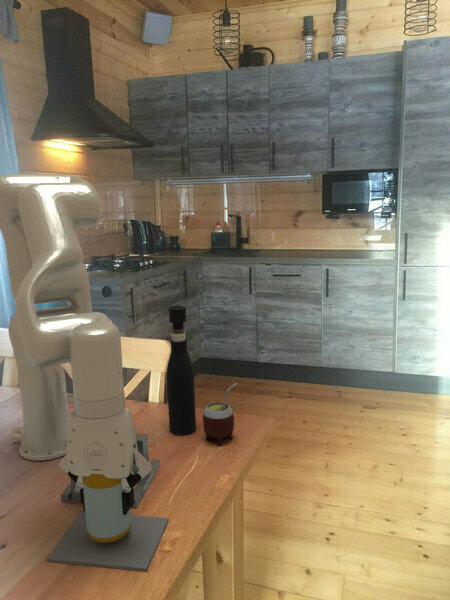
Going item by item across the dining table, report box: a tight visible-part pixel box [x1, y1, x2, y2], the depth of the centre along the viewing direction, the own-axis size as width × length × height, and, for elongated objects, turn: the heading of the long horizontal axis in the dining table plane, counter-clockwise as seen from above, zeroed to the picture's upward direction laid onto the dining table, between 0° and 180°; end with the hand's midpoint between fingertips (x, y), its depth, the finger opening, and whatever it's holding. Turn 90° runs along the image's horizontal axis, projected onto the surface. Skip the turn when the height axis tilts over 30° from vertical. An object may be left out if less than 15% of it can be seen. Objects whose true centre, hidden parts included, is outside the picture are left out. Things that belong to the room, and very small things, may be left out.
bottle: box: [82, 454, 132, 543], centre depth 79 cm, size 7×7×15 cm
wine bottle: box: [166, 305, 197, 437], centre depth 116 cm, size 6×6×30 cm
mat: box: [46, 510, 169, 572], centre depth 81 cm, size 16×12×1 cm
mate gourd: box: [202, 381, 239, 447], centre depth 112 cm, size 8×8×15 cm
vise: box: [60, 432, 161, 509], centre depth 96 cm, size 14×17×7 cm
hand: (108, 507), depth 80 cm, fingers closed on bottle, 5 cm apart
